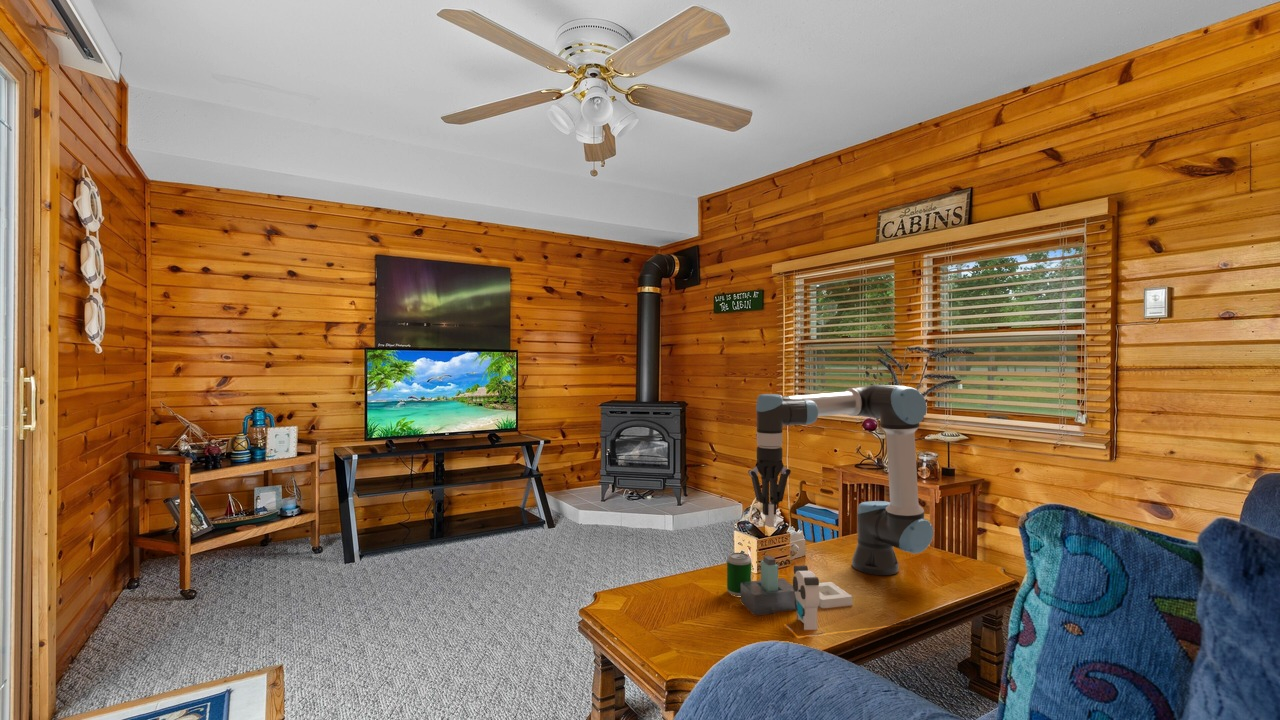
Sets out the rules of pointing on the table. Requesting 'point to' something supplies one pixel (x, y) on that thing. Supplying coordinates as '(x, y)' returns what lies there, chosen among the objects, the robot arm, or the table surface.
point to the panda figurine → (806, 597)
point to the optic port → (767, 597)
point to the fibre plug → (769, 574)
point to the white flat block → (833, 596)
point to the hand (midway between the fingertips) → (769, 525)
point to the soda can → (737, 572)
